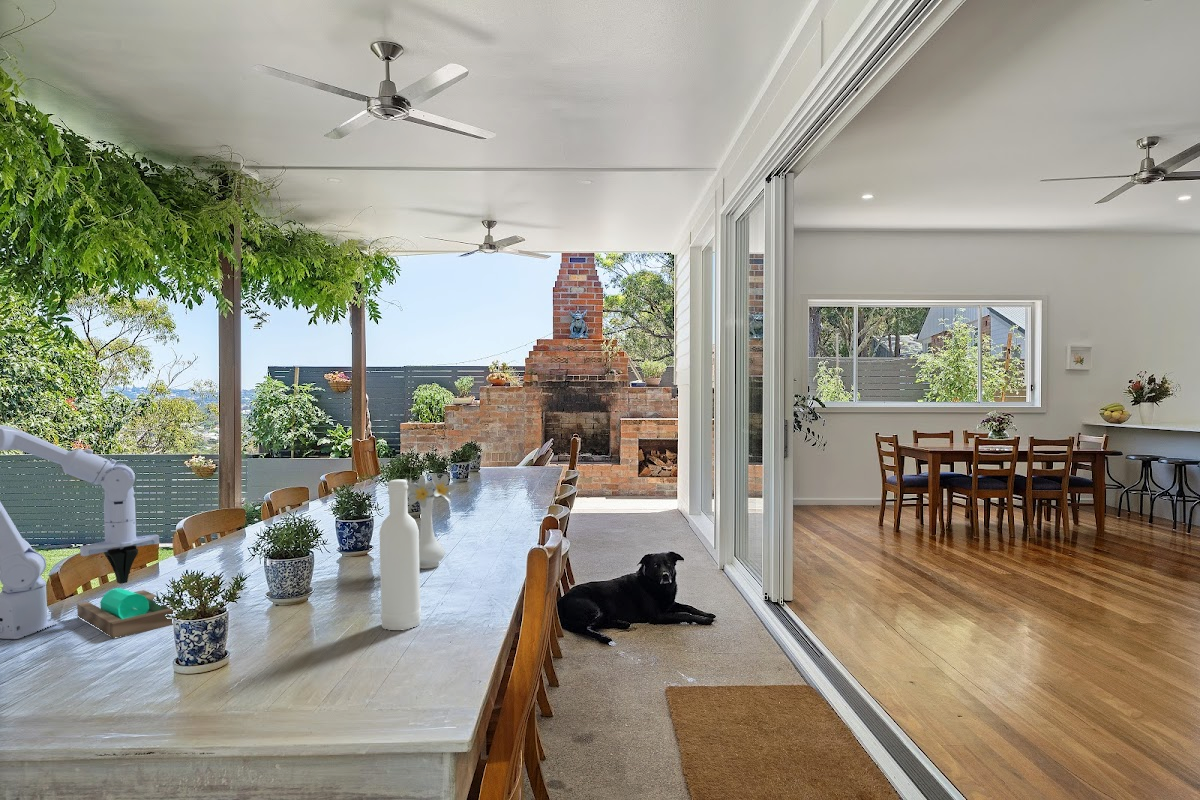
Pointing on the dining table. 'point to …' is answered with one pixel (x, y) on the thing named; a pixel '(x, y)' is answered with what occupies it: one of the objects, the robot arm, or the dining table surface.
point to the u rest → (127, 625)
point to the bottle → (399, 563)
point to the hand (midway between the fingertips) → (122, 582)
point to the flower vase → (428, 516)
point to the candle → (124, 603)
